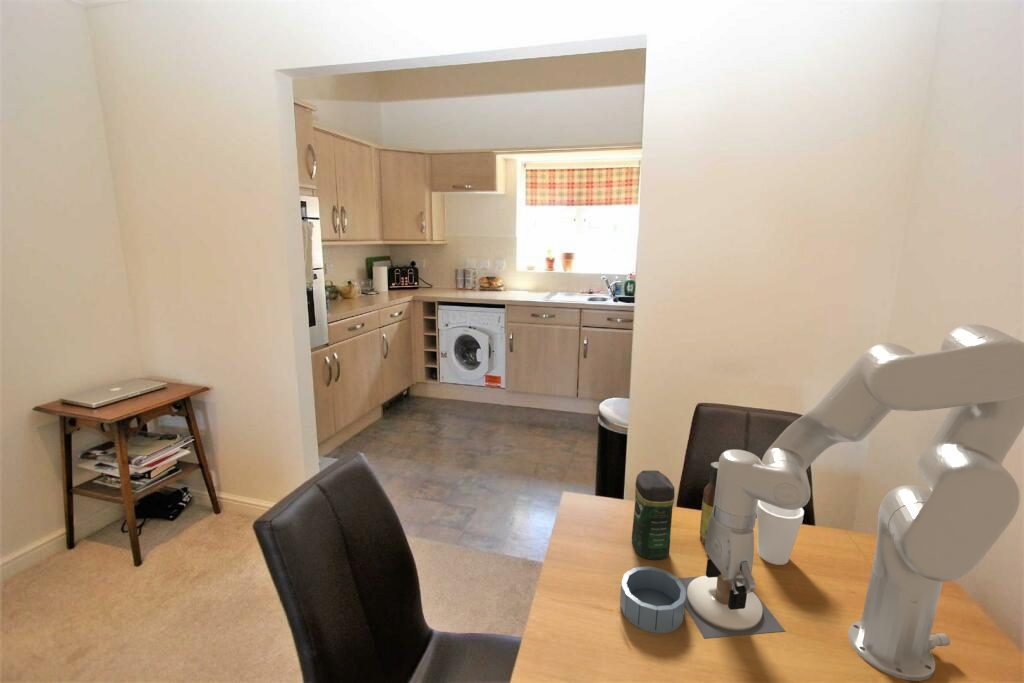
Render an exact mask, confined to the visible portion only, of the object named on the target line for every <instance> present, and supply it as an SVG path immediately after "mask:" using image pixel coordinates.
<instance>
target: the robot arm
mask: <svg viewBox="0 0 1024 683" xmlns="http://www.w3.org/2000/svg"><path fill="white" fill-rule="evenodd" d="M949 408H950V409H949ZM941 409H942V410H943V409H949V410H948V412H947V414H946V415H945V417H944V419H943V421H942V422H941V423H940V424H939V426H938V428H937V430H936V431H935V433H934V434H933V436H932V437H931V438H930V440H929V441H928V443H927V444H926V445H925V447H924V448H923V450H922V452H921V453H920V456H919V458H918V462H917V465H918V466H917V467H918V470H919V473H920V475H921V476H922V478H923V480H924V482H925V483H926V485H927V487H928V488H929V489H928V488H926V487H923V486H919V485H914V484H906V485H900V486H897V487H894V488H893V489H891V490H890V491H888V492H887V493H886V494H885V495H884V497H883V499H882V501H881V503H880V506H879V510H878V517H877V519H878V520H877V533H876V534H877V535H876V543H875V550H874V551H875V552H874V556H873V560H872V561H873V562H872V566H871V571H870V576H869V581H868V582H869V583H868V587H867V591H866V597H865V601H864V606H863V613H862V617H861V619H860V620H857V621H854V622H853V623H851V625H850V626H849V628H848V633H847V638H848V640H849V644H851V647H852V648H853V650H855V652H856V653H857V654H858V655H859V656H860V657H861V658H862V659H863V660H864V661H865V662H867V663H868V664H870V665H871V666H873V667H874V668H876V669H878V670H879V671H881V672H882V673H885V674H887V675H889V676H892V677H895V678H898V679H902V680H905V681H912V682H915V681H916V682H921V681H927V680H929V679H930V678H931V677H932V676H933V675H934V673H935V669H936V661H935V658H934V656H933V654H932V653H931V650H934V649H935V648H936V647H946V646H950V645H951V639H950V638H949V636H948V635H947V633H944V632H943V633H941V632H940V633H932V629H933V624H934V620H935V617H936V613H937V608H938V603H939V599H940V595H941V592H942V587H943V583H944V582H950V581H951V582H952V581H956V580H959V579H961V578H963V577H966V575H968V574H970V573H971V572H972V571H973V570H974V569H975V568H976V567H977V566H978V565H979V564H980V562H981V561H983V559H984V558H985V557H986V556H987V554H988V553H989V552H990V550H991V549H992V547H993V546H994V544H996V542H997V541H998V539H1000V537H1001V536H1002V534H1003V533H1004V532H1005V530H1006V529H1007V528H1008V526H1009V525H1010V524H1011V522H1012V521H1013V520H1014V518H1015V516H1016V514H1017V511H1018V509H1019V505H1020V501H1021V493H1020V488H1019V486H1018V483H1017V482H1016V480H1015V479H1014V477H1013V476H1012V474H1011V473H1010V472H1009V471H1008V470H1007V469H1006V468H1005V467H1004V466H1003V462H1004V460H1005V459H1006V456H1007V454H1008V453H1009V452H1010V451H1011V449H1012V448H1013V445H1014V444H1015V442H1016V440H1017V439H1018V438H1019V436H1020V434H1021V433H1022V431H1023V429H1024V342H1023V341H1022V340H1020V339H1017V338H1015V337H1013V336H1010V335H1009V334H1007V333H1005V332H1003V331H1001V330H999V329H996V328H993V327H990V326H987V325H984V324H983V325H982V324H974V323H973V324H965V325H960V326H957V327H956V328H954V329H953V330H951V331H950V332H948V333H947V334H946V336H945V337H944V339H943V340H942V343H941V346H940V351H934V352H924V353H915V352H914V351H912V350H911V349H909V348H907V347H905V346H903V345H899V344H896V343H889V342H887V343H886V342H885V343H878V344H876V345H873V346H872V347H870V348H868V349H867V350H866V351H864V352H863V354H861V356H859V358H858V359H857V360H856V361H855V362H854V363H853V364H852V365H851V366H850V368H849V369H848V370H847V371H846V372H845V373H844V374H843V376H842V377H841V378H840V379H839V380H838V381H837V382H836V384H834V386H833V387H832V388H831V389H830V390H829V391H828V392H827V394H825V396H824V397H823V398H822V399H821V401H819V402H818V403H817V404H816V405H815V406H814V407H813V408H811V409H810V410H808V411H807V412H805V413H804V414H803V415H801V416H800V417H799V418H797V419H796V420H794V421H793V422H792V423H791V424H790V425H788V426H787V427H786V428H785V429H784V430H783V431H782V433H780V434H779V436H778V437H777V438H776V439H775V440H774V442H772V444H771V445H770V446H769V447H768V448H767V450H766V451H765V453H764V455H763V456H762V459H760V457H759V456H757V455H756V454H754V452H753V453H752V452H750V451H747V450H743V449H727V450H724V451H723V452H722V453H721V454H720V456H719V458H718V462H719V464H718V473H717V482H716V490H715V499H714V508H713V511H712V513H711V516H710V519H709V523H708V527H707V531H706V532H705V533H706V539H705V544H704V551H705V554H706V557H707V560H706V569H705V576H707V577H708V578H711V577H718V576H719V575H721V574H722V575H723V576H724V577H725V578H727V579H729V580H730V579H731V584H732V590H730V595H729V602H728V607H729V609H730V610H733V609H744V608H745V605H746V598H747V593H750V592H752V591H754V590H755V589H756V588H757V584H756V582H755V579H754V576H753V574H752V570H753V567H754V566H753V564H754V552H755V532H754V528H755V526H756V521H757V505H758V500H760V501H763V502H765V503H768V504H770V505H773V506H776V507H779V508H782V509H787V510H795V509H800V508H802V509H803V508H804V507H805V506H806V505H807V504H808V502H809V501H810V499H811V495H812V494H811V486H810V482H809V478H808V473H807V470H808V469H809V467H810V466H811V465H812V463H814V462H815V461H816V459H818V458H819V456H820V455H821V454H823V453H824V451H827V450H828V449H829V448H830V447H832V446H834V445H836V444H839V443H858V442H860V441H863V440H864V439H865V438H866V437H867V436H868V435H869V434H870V433H872V431H873V430H874V429H875V428H876V427H877V426H878V425H879V424H880V423H881V422H882V421H883V420H884V419H885V418H886V417H887V415H889V413H890V412H892V411H897V412H898V411H899V412H923V411H924V412H925V411H932V410H941ZM739 573H740V575H737V574H739ZM736 579H742V584H743V586H737V581H736ZM931 633H932V634H931Z"/></svg>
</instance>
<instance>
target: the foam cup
mask: <svg viewBox="0 0 1024 683" xmlns="http://www.w3.org/2000/svg"><path fill="white" fill-rule="evenodd" d="M804 515H805V510H804V508H803V507H802V508H800V509H795V510H787V509H782V508H779V507H776V506H773V505H770V504H768V503H765V502H763V501H760V500H758V505H757V513H756V541H757V543H756V545H757V546H756V547H757V548H756V550H757V554H758V555H759V557H760V558H761V559H762V560H763V561H765V562H767V563H769V564H772V565H776V566H779V565H781V566H783V565H785V564H788V562H789V561H790V557H791V555H792V552H793V548H794V546H795V544H796V543H795V542H796V541H797V540H796V539H797V536H798V533H799V530H800V528H801V526H802V525H803V520H804Z"/></svg>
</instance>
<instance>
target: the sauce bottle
mask: <svg viewBox="0 0 1024 683" xmlns="http://www.w3.org/2000/svg"><path fill="white" fill-rule="evenodd" d="M718 464H719V461H714V462H711V463H710V477H709V483H707V485H706V486H705V487H704V490H703V497H702V503H701V504H702V505H701V513H700V527H699V534H700V535H699V539H700V541H701V542H702V544H704V545H705V539H706V533H705V532H706V531H707V527H708V523H709V519H710V516H711V513H712V511H713V508H714V499H715V490H716V482H717V473H718Z"/></svg>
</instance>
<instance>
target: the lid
mask: <svg viewBox="0 0 1024 683" xmlns="http://www.w3.org/2000/svg"><path fill="white" fill-rule="evenodd" d="M697 577H698V578H696V579H694V580H693V581H691V582H690V584H689V586H688V589H687V600H688V602H689V604H690V606H691V608H692V609H693V610H694V611H695V613H697V614H698V615H699V616H700V617H701V618H703V619H704V620H706V621H707V622H709V623H711V624H713V625H715V626H718V627H721V628H724V629H729V630H747V629H751V628H753V627H755V626H756V625H758V623H759V622H760V621H761V618H762V610H763V609H762V605H761V602H760V600H761V599H760V600H759V599H758V597H759V596H758V595H757V594H756V595H757V596H758V597H757V596H756V595H755V594H754V593H753V592H750V593H747V598H746V605H745V608H744V609H733V610H730V609H729V607H728V602H729V595H730V590H732V584H731V579H730V580H729V579H727V578H725V577H724V576H723V575H722V574H721V575H719V576H718V577H711V578H708V577H707V576H706V575H702V576H701V577H700V576H697ZM737 586H743V584H741V583H739V582H737Z"/></svg>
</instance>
